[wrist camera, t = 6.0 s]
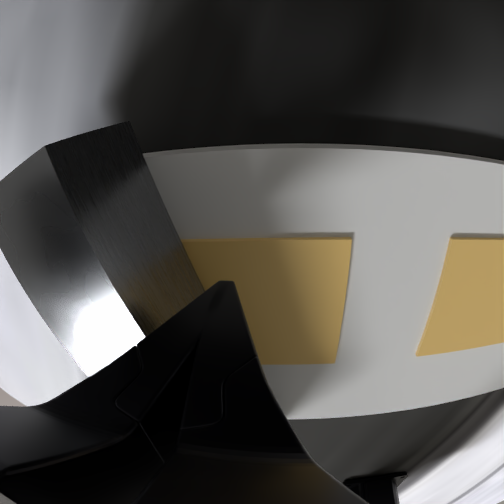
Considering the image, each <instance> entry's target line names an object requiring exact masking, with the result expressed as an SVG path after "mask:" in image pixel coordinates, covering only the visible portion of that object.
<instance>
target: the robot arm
mask: <svg viewBox="0 0 504 504" xmlns="http://www.w3.org/2000/svg"><path fill="white" fill-rule="evenodd" d="M406 477H407V472H402V473H397V474H391V475H386V476H379V477H373V478H366V479H358V480H349V481H345V482H343V484H342V483H341V482H339V481H338V480H337V479H336V478H334V477H333V476H332V475H330V474H329V473H328V472H327V471H325V470H324V469H323V468H322V467H320V466H319V465H318V464H317V463H316V462H315V461H314V460H313V458H312V457H311V456H310V455H309V453H308V452H307V450H306V449H305V447H304V446H303V444H302V443H301V441H300V440H299V438H298V436H297V435H296V433H295V431H294V429H293V428H292V426H291V424H290V423H289V421H288V419H287V417H286V416H285V414H284V412H283V410H282V409H281V407H280V405H279V403H278V402H277V400H276V398H275V396H274V394H273V392H272V390H271V388H270V386H269V384H268V381H267V379H266V376H265V373H264V371H263V368H262V365H261V362H260V359H259V358H258V354H257V351H256V348H255V345H254V341H253V338H252V335H251V332H250V329H249V326H248V323H247V320H246V317H245V314H244V311H243V307H242V304H241V301H240V298H239V295H238V292H237V288H236V285H235V282H234V281H224V280H220V281H218V282H216V283H215V284H214V285H213V286H211V287H210V288H209V289H207V290H206V291H205V292H203V293H202V294H201V295H200V296H198V297H197V298H196V299H194V300H193V301H192V302H190V303H189V304H188V305H187V306H185V307H184V308H183V309H181V310H180V311H179V312H177V313H176V314H175V315H174V316H172V317H171V318H170V319H168V320H167V321H166V322H164V323H163V324H162V325H160V326H159V327H158V328H157V329H155V330H154V331H153V332H151V333H150V334H149V335H147V336H146V337H145V338H144V339H142V340H141V341H140V342H138V343H137V346H133V347H132V348H130V349H129V350H128V351H126V352H125V353H124V354H122V355H121V356H120V357H118V358H117V359H115V360H114V361H113V362H111V363H110V364H109V365H107V366H105V367H104V368H102V369H101V370H99V371H98V372H96V373H95V374H93V375H92V376H90V377H88V378H87V379H85V380H83V381H82V382H80V383H79V384H77V385H75V386H74V387H72V388H70V389H69V390H67V391H65V392H64V393H62V394H60V395H59V396H57V397H55V398H54V399H52V400H50V401H48V402H45V403H43V404H40V405H36V406H28V407H18V406H0V504H399V497H398V490H397V487H398V486H399V485H400V484H401V482H402V481H403V480H404V479H405V478H406Z"/></svg>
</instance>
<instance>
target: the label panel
mask: <svg viewBox="0 0 504 504" xmlns="http://www.w3.org/2000/svg"><path fill="white" fill-rule="evenodd" d="M143 156H144V158H145V161H146V163H147V166H148V168H149V170H150V173H151V175H152V177H153V180H154V182H155V184H156V187H157V189H158V191H159V193H160V196H161V198H162V200H163V202H164V205H165V207H166V209H167V211H168V214H169V216H170V218H171V220H172V222H173V225H174V227H175V229H176V231H177V233H178V235H179V238H180V240H181V242H182V244H183V246H184V248H185V250H186V252H187V254H188V257H189V259H190V261H191V263H192V265H193V267H194V269H195V271H196V273H197V275H198V277H199V279H200V281H201V283H202V285H203V287H204V289H205V291H206V290H207V289H209V288H210V287H211V286H213V285H214V284H215V283H216V282H218V281H220V280H224V281H234V282H235V285H236V288H237V292H238V295H239V298H240V301H241V304H242V307H243V311H244V314H245V317H246V320H247V323H248V326H249V329H250V332H251V335H252V338H253V341H254V345H255V348H256V351H257V354H258V358H259V359H260V362H261V365H262V368H263V371H264V373H265V376H266V379H267V381H268V384H269V386H270V388H271V390H272V392H273V394H274V396H275V398H276V400H277V402H278V403H279V405H280V407H281V409H282V410H283V412H284V414H285V416H286V417H287V419H318V418H337V417H350V416H362V415H371V414H380V413H388V412H395V411H402V410H409V409H415V408H421V407H426V406H432V405H437V404H442V403H447V402H451V401H456V400H460V399H464V398H469V397H473V396H477V395H480V394H484V393H488V392H491V391H495V390H498V389H502V388H504V161H502V160H496V159H490V158H484V157H478V156H471V155H465V154H457V153H450V152H442V151H433V150H424V149H413V148H402V147H389V146H373V145H353V144H308V143H297V144H252V145H231V146H215V147H201V148H189V149H179V150H169V151H159V152H151V153H143Z"/></svg>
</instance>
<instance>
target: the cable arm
mask: <svg viewBox="0 0 504 504" xmlns="http://www.w3.org/2000/svg"><path fill="white" fill-rule="evenodd" d="M0 248H1V250H2V252H3V254H4V256H5V258H6V260H7V261H8V263H9V265H10V267H11V269H12V270H13V272H14V274H15V276H16V277H17V279H18V281H19V282H20V284H21V286H22V287H23V289H24V290H25V292H26V294H27V295H28V297H29V298H30V300H31V302H32V303H33V305H34V306H35V308H36V309H37V311H38V312H39V314H40V315H41V317H42V318H43V319H44V321H45V322H46V324H47V325H48V327H49V328H50V329H51V331H52V332H53V334H54V335H55V336H56V338H57V339H58V340H59V342H60V343H61V344H62V346H63V347H64V348H65V350H66V351H67V352H68V353H69V355H70V356H71V357H72V358H73V360H74V361H75V362H76V363H77V365H78V366H79V367H80V368H81V369H82V371H83V372H84V373H85V374H86V375H87V377H90V376H92V375H93V374H95V373H96V372H98V371H99V370H101V369H102V368H104V367H105V366H107V365H109V364H110V363H111V362H113V361H114V360H115V359H117V358H118V357H120V356H121V355H122V354H124V353H125V352H126V351H128V350H129V349H130V348H132V347H133V346H137V343H138V342H140V341H141V340H142V339H144V338H145V337H146V336H147V335H149V334H150V333H151V332H153V331H154V330H155V329H157V328H158V327H159V326H160V325H162V324H163V323H164V322H166V321H167V320H168V319H170V318H171V317H172V316H174V315H175V314H176V313H177V312H179V311H180V310H181V309H183V308H184V307H185V306H187V305H188V304H189V303H190V302H192V301H193V300H194V299H196V298H197V297H198V296H200V295H201V294H202V293H203V292H205V289H204V287H203V285H202V283H201V281H200V279H199V277H198V275H197V273H196V271H195V269H194V267H193V265H192V263H191V261H190V259H189V257H188V254H187V252H186V250H185V248H184V246H183V244H182V242H181V240H180V238H179V235H178V233H177V231H176V229H175V227H174V225H173V222H172V220H171V218H170V216H169V214H168V211H167V209H166V207H165V205H164V202H163V200H162V198H161V196H160V193H159V191H158V189H157V187H156V184H155V182H154V180H153V177H152V175H151V173H150V170H149V168H148V166H147V163H146V161H145V158H144V156H143V154H142V151H141V149H140V146H139V144H138V142H137V139H136V137H135V134H134V132H133V129H132V127H131V124H130V122H129V121H128V122H124V123H120V124H116V125H112V126H108V127H104V128H100V129H97V130H93V131H90V132H86V133H83V134H80V135H76V136H73V137H70V138H67V139H64V140H61V141H58V142H55V143H52V144H49V145H46V146H44V147H42V148H41V149H40V150H38V151H37V152H36V153H34V154H33V155H32V156H31V157H29V158H28V159H27V160H25V161H24V162H23V163H22V164H20V165H19V166H18V167H17V168H15V169H14V170H13V171H12V172H11V173H9V174H8V175H7V176H6V177H5V178H4V179H2V180H1V181H0Z"/></svg>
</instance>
